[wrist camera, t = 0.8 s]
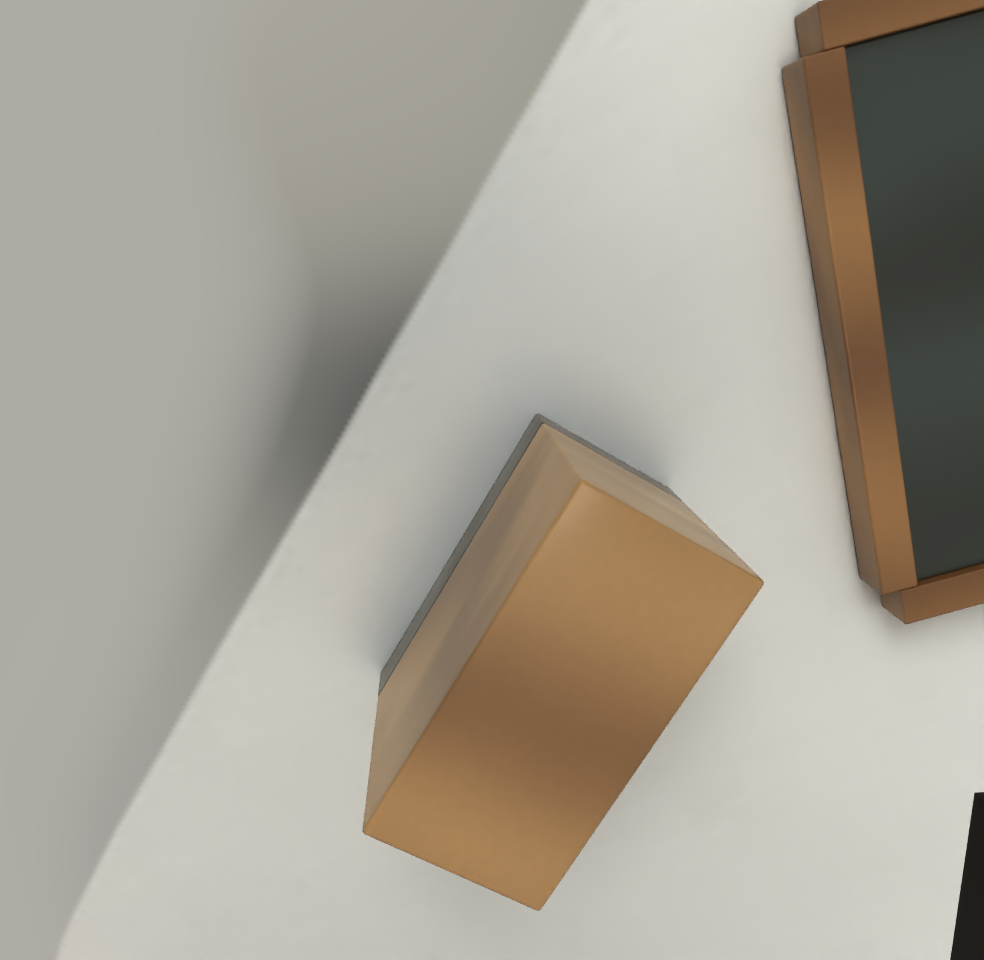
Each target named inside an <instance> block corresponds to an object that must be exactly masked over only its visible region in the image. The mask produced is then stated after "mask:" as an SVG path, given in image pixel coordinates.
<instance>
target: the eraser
mask: <svg viewBox="0 0 984 960" xmlns="http://www.w3.org/2000/svg"><path fill="white" fill-rule="evenodd" d="M763 584H764V582H763V580H762V579H761V578H760V577H759V576H758V575H757V574H756V573H755V572H754V571H753V570H752V569H751V568H750V567H749V566H748V565H747V564H746V563H745V562H744V561H743V560H742V559H741V558H739V557H738V556H737V555H736V554H735V553H734V552H733V551H732V550H731V549H730V548H729V547H728V546H727V545H726V544H725V543H724V542H723V541H722V540H721V539H720V538H719V537H718V536H717V535H716V534H715V533H714V532H713V531H712V530H711V529H710V528H709V527H708V526H707V525H706V524H705V523H704V522H703V521H702V520H701V519H700V518H699V517H698V516H697V515H696V514H695V513H694V512H693V511H692V510H691V509H690V508H689V507H688V506H687V505H686V504H685V503H683V502H682V500H681V499H680V498H679V497H678V496H677V495H676V494H675V493H674V492H673V491H671V490H670V489H669V488H668V487H666V486H664V485H662V484H661V483H659V482H657V481H655V480H654V479H652V478H650V477H648V476H647V475H645V474H643V473H641V472H640V471H638V470H636V469H634V468H633V467H631V466H629V465H627V464H626V463H624V462H622V461H620V460H619V459H617V458H615V457H613V456H612V455H610V454H608V453H606V452H605V451H603V450H601V449H599V448H598V447H596V446H594V445H592V444H591V443H589V442H587V441H585V440H584V439H582V438H580V437H578V436H577V435H575V434H573V433H571V432H570V431H568V430H566V429H564V428H563V427H561V426H559V425H557V424H556V423H554V422H552V421H550V420H549V419H547V418H545V417H544V416H542V415H540V414H536V415H535V416H534V418H533V420H532V421H531V423H530V425H529V426H528V428H527V430H526V431H525V433H524V435H523V436H522V438H521V440H520V441H519V443H518V445H517V446H516V448H515V450H514V451H513V453H512V455H511V456H510V458H509V460H508V461H507V463H506V465H505V466H504V468H503V470H502V471H501V473H500V475H499V476H498V478H497V480H496V481H495V483H494V485H493V486H492V488H491V490H490V492H489V493H488V495H487V497H486V498H485V500H484V502H483V503H482V505H481V507H480V508H479V510H478V512H477V513H476V515H475V517H474V518H473V520H472V522H471V523H470V525H469V527H468V528H467V530H466V532H465V533H464V535H463V537H462V538H461V540H460V542H459V543H458V545H457V547H456V548H455V550H454V552H453V553H452V555H451V557H450V558H449V560H448V562H447V563H446V565H445V567H444V568H443V570H442V572H441V574H440V575H439V577H438V579H437V580H436V582H435V584H434V585H433V587H432V589H431V590H430V592H429V594H428V595H427V597H426V599H425V600H424V602H423V604H422V605H421V607H420V609H419V610H418V612H417V614H416V615H415V617H414V619H413V620H412V622H411V624H410V625H409V627H408V629H407V630H406V632H405V634H404V635H403V637H402V639H401V640H400V642H399V644H398V645H397V647H396V649H395V650H394V652H393V654H392V655H391V657H390V659H389V661H388V662H387V664H386V666H385V667H384V669H383V671H382V672H381V676H380V684H379V693H378V703H377V712H376V720H375V729H374V737H373V746H372V754H371V763H370V771H369V780H368V788H367V797H366V806H365V814H364V823H363V833H364V834H366V835H368V836H370V837H373V838H375V839H377V840H379V841H382V842H384V843H386V844H388V845H391V846H393V847H395V848H397V849H400V850H402V851H404V852H406V853H409V854H411V855H413V856H415V857H418V858H420V859H422V860H425V861H427V862H429V863H431V864H434V865H436V866H438V867H440V868H443V869H445V870H447V871H449V872H452V873H454V874H456V875H458V876H461V877H463V878H465V879H467V880H470V881H472V882H474V883H476V884H479V885H481V886H483V887H485V888H488V889H490V890H492V891H494V892H497V893H499V894H501V895H503V896H506V897H508V898H510V899H512V900H515V901H517V902H519V903H521V904H524V905H526V906H528V907H530V908H533V909H535V910H537V911H539V910H541V908H542V907H543V905H544V904H545V903H546V901H547V900H548V898H549V897H550V895H551V894H552V892H553V891H554V889H555V888H556V886H557V885H558V884H559V882H560V881H561V879H562V878H563V876H564V875H565V873H566V872H567V870H568V869H569V868H570V866H571V865H572V863H573V862H574V860H575V859H576V857H577V856H578V854H579V853H580V851H581V850H582V849H583V847H584V846H585V844H586V843H587V841H588V840H589V838H590V837H591V835H592V834H593V833H594V831H595V830H596V828H597V827H598V825H599V824H600V822H601V821H602V819H603V818H604V816H605V815H606V814H607V812H608V811H609V809H610V808H611V806H612V805H613V803H614V802H615V800H616V799H617V798H618V796H619V795H620V793H621V792H622V790H623V789H624V787H625V786H626V784H627V783H628V781H629V780H630V779H631V777H632V776H633V774H634V773H635V771H636V770H637V768H638V767H639V765H640V764H641V763H642V761H643V760H644V758H645V757H646V755H647V754H648V752H649V751H650V749H651V748H652V746H653V745H654V744H655V742H656V741H657V739H658V738H659V736H660V735H661V733H662V732H663V730H664V729H665V727H666V726H667V725H668V723H669V722H670V720H671V719H672V717H673V716H674V714H675V713H676V711H677V710H678V709H679V707H680V706H681V704H682V703H683V701H684V700H685V698H686V697H687V695H688V694H689V692H690V691H691V690H692V688H693V687H694V685H695V684H696V682H697V681H698V679H699V678H700V676H701V675H702V674H703V672H704V671H705V669H706V668H707V666H708V665H709V663H710V662H711V660H712V659H713V657H714V656H715V655H716V653H717V652H718V650H719V649H720V647H721V646H722V644H723V643H724V641H725V640H726V639H727V637H728V636H729V634H730V633H731V631H732V630H733V628H734V627H735V625H736V624H737V622H738V621H739V620H740V618H741V617H742V615H743V614H744V612H745V611H746V609H747V608H748V606H749V605H750V604H751V602H752V601H753V599H754V598H755V596H756V595H757V593H758V592H759V590H760V589H761V587H762V586H763Z"/></svg>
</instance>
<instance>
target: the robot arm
mask: <svg viewBox="0 0 984 960" xmlns="http://www.w3.org/2000/svg"><path fill="white" fill-rule="evenodd" d="M950 960H984V792H980V793H975V794H974V801H973V808H972V815H971V822H970V828H969V835H968V842H967V849H966V856H965V863H964V870H963V877H962V883H961V890H960V897H959V904H958V911H957V918H956V925H955V932H954V938H953V945H952V952H951V959H950Z"/></svg>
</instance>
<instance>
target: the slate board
mask: <svg viewBox="0 0 984 960" xmlns="http://www.w3.org/2000/svg"><path fill="white" fill-rule="evenodd" d="M795 22H796V28H797V35H798V42H799V49H800V55H801V58H800V59H798V60H796V61H795V62H793V63H791V64H789V65H787V66H785V67H784V68H782V75H783V81H784V88H785V94H786V101H787V107H788V114H789V120H790V127H791V133H792V140H793V146H794V152H795V159H796V165H797V172H798V178H799V185H800V191H801V198H802V204H803V211H804V217H805V224H806V230H807V237H808V243H809V250H810V256H811V262H812V269H813V275H814V282H815V288H816V295H817V301H818V308H819V314H820V321H821V327H822V334H823V340H824V347H825V353H826V360H827V366H828V372H829V379H830V385H831V392H832V398H833V405H834V411H835V418H836V424H837V431H838V437H839V444H840V450H841V457H842V463H843V470H844V476H845V482H846V489H847V495H848V502H849V508H850V515H851V521H852V528H853V534H854V541H855V547H856V554H857V560H858V567H859V573H860V578H861V579H862V580H863V581H865V582H866V583H867V584H869V585H870V586H871V587H872V588H874V589H875V590H876V591H878V592H879V593H880V595H881V602H882V606H883V607H884V608H885V609H886V610H888V611H889V612H890V613H892V614H893V615H894V616H895V617H897V618H898V619H899V620H901V621H902V622H903V623H904V624H909V623H913V622H917V621H920V620H924V619H928V618H931V617H935V616H939V615H942V614H946V613H950V612H953V611H957V610H961V609H964V608H968V607H972V606H975V605H979V604H983V603H984V0H823V1H819V2H817V3H816V4H814V5H813V6H811V7H810V8H808V9H807V10H805V11H804V12H802V13H801V14H799V15H797V16H796V17H795Z"/></svg>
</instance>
